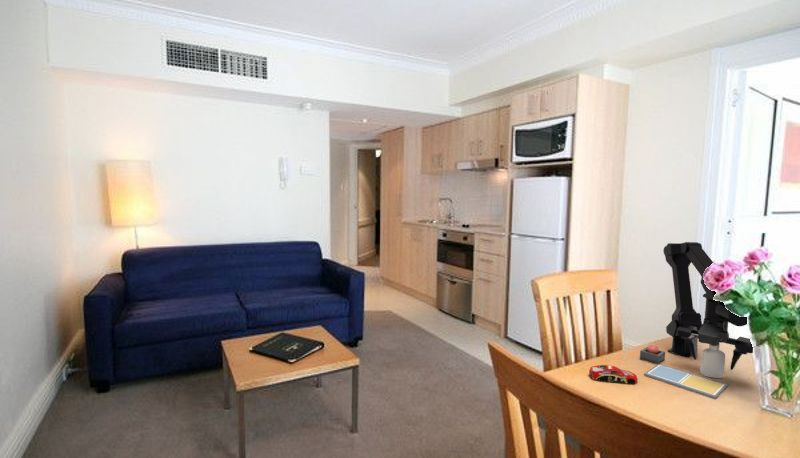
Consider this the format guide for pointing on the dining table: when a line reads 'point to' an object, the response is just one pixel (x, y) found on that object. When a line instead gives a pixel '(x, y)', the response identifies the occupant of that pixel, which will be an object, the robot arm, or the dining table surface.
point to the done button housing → (652, 356)
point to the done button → (652, 349)
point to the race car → (612, 374)
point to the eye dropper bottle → (713, 362)
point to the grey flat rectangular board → (687, 380)
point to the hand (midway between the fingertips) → (712, 364)
